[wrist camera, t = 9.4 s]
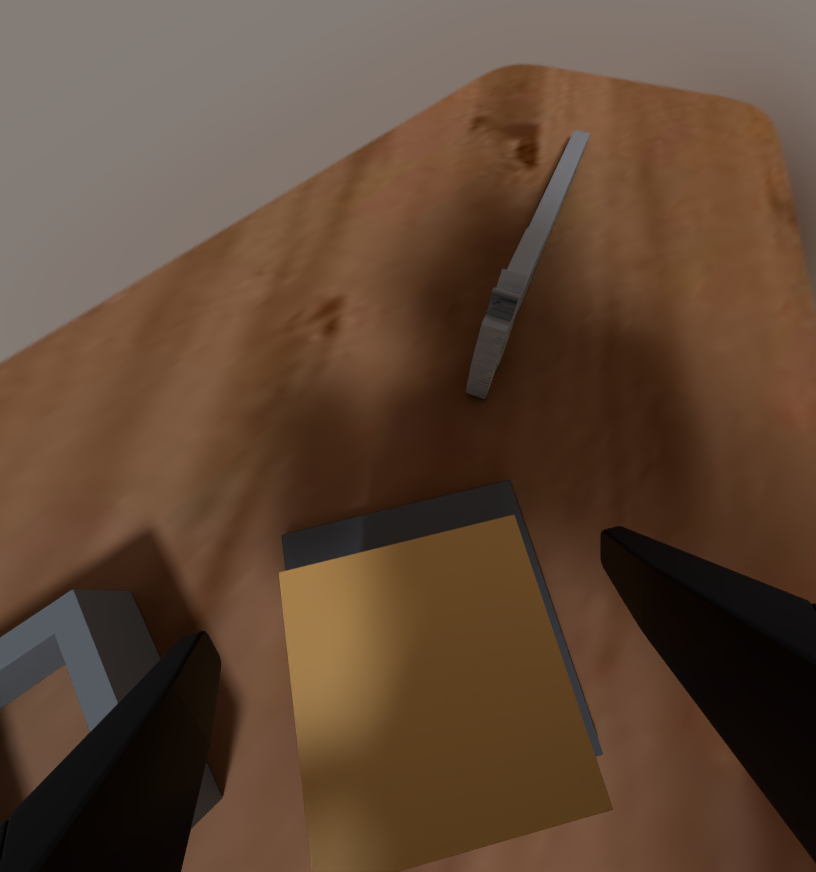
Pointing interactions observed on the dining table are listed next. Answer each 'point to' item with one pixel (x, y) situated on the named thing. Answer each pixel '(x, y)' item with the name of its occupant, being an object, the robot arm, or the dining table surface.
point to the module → (431, 702)
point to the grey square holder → (88, 658)
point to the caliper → (521, 272)
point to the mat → (421, 523)
